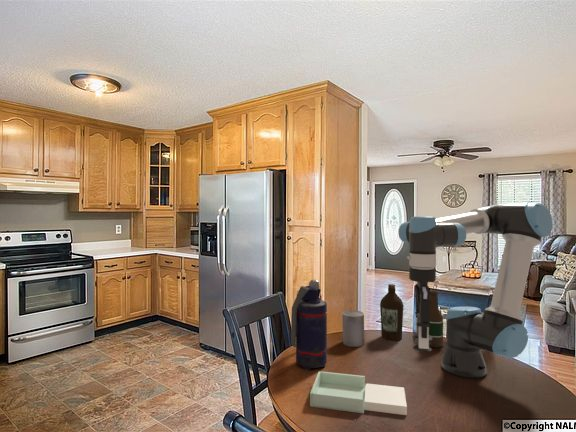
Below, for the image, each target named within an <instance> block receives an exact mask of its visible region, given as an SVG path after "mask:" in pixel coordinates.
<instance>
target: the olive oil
mask: <svg viewBox="0 0 576 432" xmlns="http://www.w3.org/2000/svg"><path fill="white" fill-rule="evenodd" d="M387 285H388V286H387V292H386V294H385V295H384V296H383V297H382V298H381V299H380V303H379V308H380V309H379V311H380V331H381V333H380V334H381V336H380V337H381V338H382V339H384V340H386V341H392V342H394V341H396V342H397V341H401V340H403V326H404V325H403V324H404V322H403V320H404V302H403V300H402V299H401V297H400V296H399V295H398V294H397V293H396V284H393V283H388V284H387Z"/></svg>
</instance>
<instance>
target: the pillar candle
mask: <svg viewBox="0 0 576 432" xmlns="http://www.w3.org/2000/svg"><path fill="white" fill-rule="evenodd" d="M342 344H343V345H344V346H346V347H350V348H351V347H352V348H353V347H354V348H355V347H357V348H358V347H359V348H360V347H363V346H364V345H365V314H364V312H363V311H360V310H353V309H352V310H350V309H349V310H345V311H342Z"/></svg>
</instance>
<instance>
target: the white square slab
mask: <svg viewBox="0 0 576 432" xmlns="http://www.w3.org/2000/svg"><path fill="white" fill-rule="evenodd" d="M365 387H366V388H365V401H364V411H371V412H377V413H378V412H379V413H385V414H394V415H400V416H401V415H402V416H407V415H408V405H407V400H406V399H407V397H406V391H405V387H402V386H394V385H384V384H375V383H365Z"/></svg>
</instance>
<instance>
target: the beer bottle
mask: <svg viewBox="0 0 576 432" xmlns="http://www.w3.org/2000/svg"><path fill="white" fill-rule="evenodd" d="M438 296H439V291H437V290H435V289H430V327H429V336H431V337H432V338H433V339H432V340H431V344H430V345H429V347H430V348H441V347H443V346H444V317H443V314H442V312H441V311H440V307H439V298H438Z"/></svg>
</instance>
